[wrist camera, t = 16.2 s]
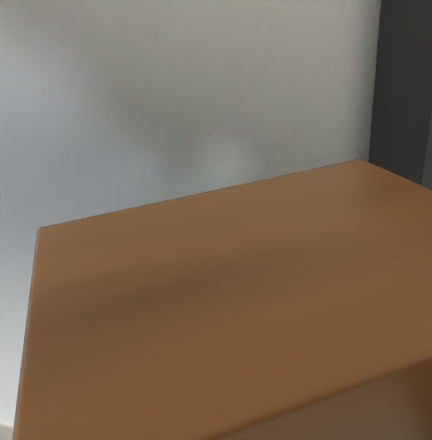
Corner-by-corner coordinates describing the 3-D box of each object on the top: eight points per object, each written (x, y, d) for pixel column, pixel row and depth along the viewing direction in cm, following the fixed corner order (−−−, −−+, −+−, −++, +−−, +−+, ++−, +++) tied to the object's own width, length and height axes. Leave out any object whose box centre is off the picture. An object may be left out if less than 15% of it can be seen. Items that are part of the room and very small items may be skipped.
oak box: (344, 392, 11) (499, 592, 7) (117, 477, 9) (154, 788, 6) (360, 157, 8) (638, 277, 4) (35, 225, 7) (-3, 515, 3)
